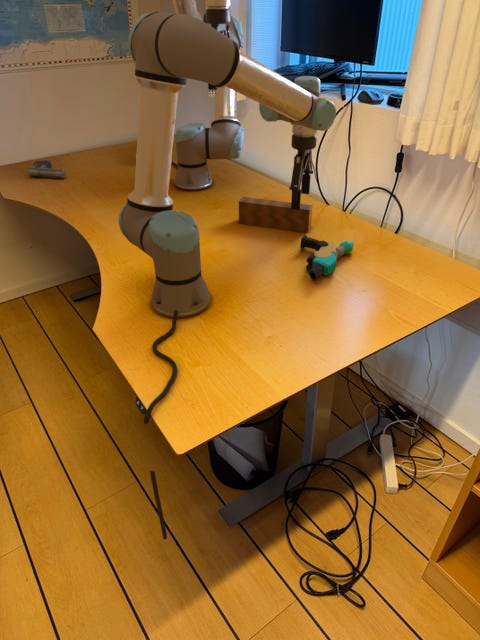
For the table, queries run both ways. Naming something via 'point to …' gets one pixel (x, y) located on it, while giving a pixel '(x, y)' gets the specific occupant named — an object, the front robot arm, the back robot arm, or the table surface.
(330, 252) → the toy gun
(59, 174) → the toy gun
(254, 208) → the bar
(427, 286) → the table surface
